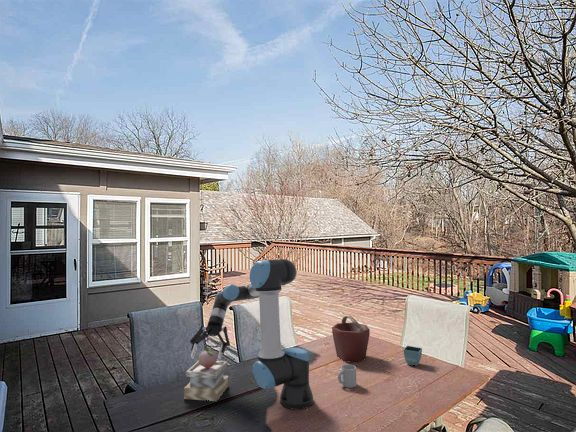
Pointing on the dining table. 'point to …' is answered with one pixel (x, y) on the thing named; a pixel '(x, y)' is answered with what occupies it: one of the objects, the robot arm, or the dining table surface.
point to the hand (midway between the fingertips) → (205, 358)
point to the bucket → (351, 340)
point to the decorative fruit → (207, 358)
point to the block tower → (206, 382)
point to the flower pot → (412, 355)
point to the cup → (347, 376)
